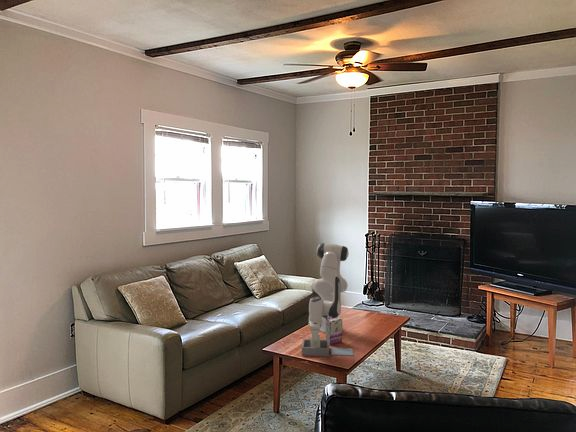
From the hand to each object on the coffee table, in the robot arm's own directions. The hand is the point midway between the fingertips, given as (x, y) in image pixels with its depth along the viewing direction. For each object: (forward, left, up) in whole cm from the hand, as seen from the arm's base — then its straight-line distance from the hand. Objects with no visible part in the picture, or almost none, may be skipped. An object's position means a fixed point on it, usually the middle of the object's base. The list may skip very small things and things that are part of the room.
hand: (315, 343), depth 292 cm
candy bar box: (-17, +12, -5) cm, 22 cm away
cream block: (0, 0, -3) cm, 3 cm away
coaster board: (0, +17, -5) cm, 18 cm away
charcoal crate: (0, 0, -5) cm, 5 cm away
